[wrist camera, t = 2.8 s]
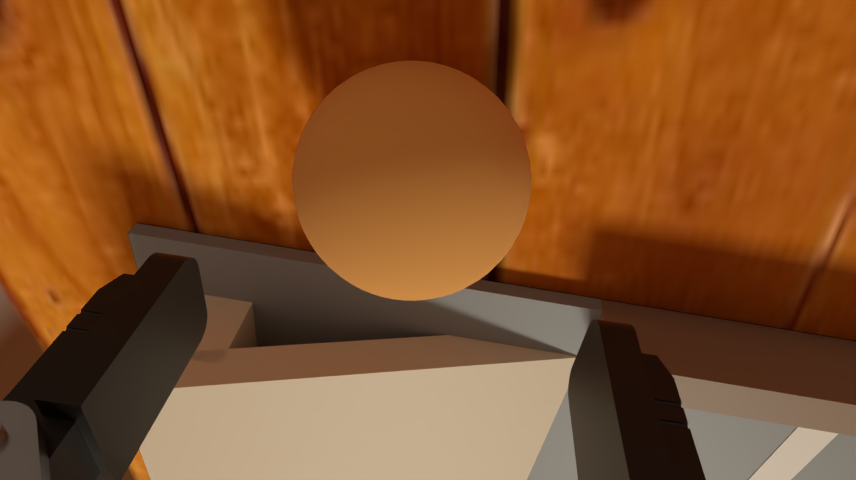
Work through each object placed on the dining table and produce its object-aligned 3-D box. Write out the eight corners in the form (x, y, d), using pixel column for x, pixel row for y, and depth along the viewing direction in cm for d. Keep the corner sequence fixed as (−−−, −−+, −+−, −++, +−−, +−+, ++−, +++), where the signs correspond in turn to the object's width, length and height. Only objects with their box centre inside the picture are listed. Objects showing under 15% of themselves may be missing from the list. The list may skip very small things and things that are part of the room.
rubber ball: (327, 11, 15) (243, 104, 10) (550, 46, 15) (571, 157, 10) (326, 197, 18) (265, 329, 14) (504, 225, 18) (504, 368, 14)
